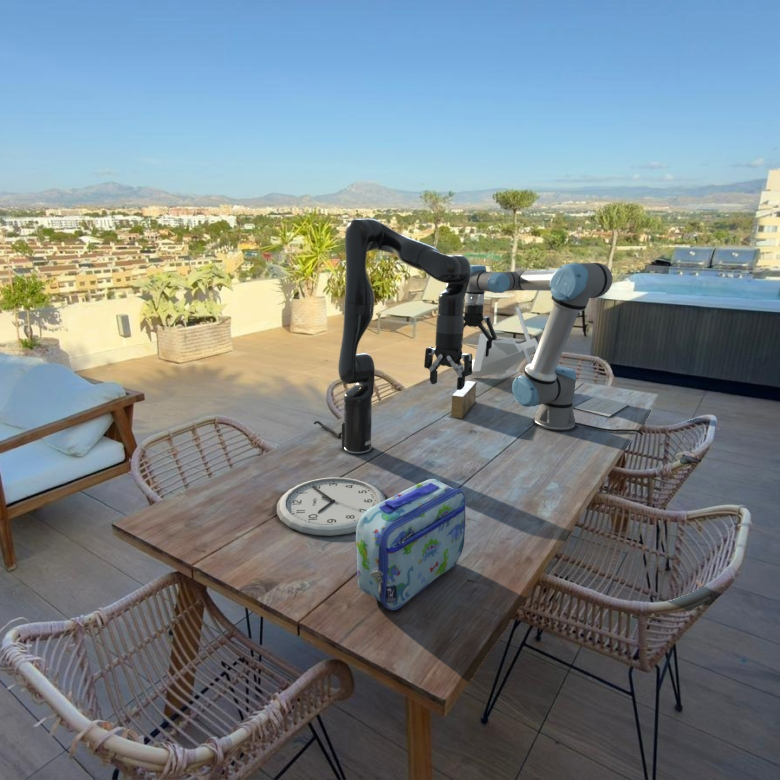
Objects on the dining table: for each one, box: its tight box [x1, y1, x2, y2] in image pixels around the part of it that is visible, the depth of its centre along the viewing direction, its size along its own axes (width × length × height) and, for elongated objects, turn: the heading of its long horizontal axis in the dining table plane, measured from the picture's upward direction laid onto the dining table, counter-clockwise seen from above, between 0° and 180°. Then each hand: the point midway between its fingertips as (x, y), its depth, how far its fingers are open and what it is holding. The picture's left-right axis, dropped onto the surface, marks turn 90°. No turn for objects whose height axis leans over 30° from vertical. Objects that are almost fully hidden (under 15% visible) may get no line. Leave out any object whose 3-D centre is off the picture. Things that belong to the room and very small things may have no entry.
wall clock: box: [276, 476, 387, 537], centre depth 142 cm, size 30×2×30 cm
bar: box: [450, 380, 477, 419], centre depth 219 cm, size 23×4×9 cm, turn 158°
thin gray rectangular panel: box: [573, 396, 629, 418], centre depth 226 cm, size 21×1×15 cm
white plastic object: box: [469, 306, 539, 378], centre depth 259 cm, size 37×45×31 cm
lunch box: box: [355, 478, 466, 611], centre depth 110 cm, size 26×11×21 cm, turn 134°
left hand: (446, 386), depth 149 cm, fingers open, 8 cm apart
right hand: (471, 354), depth 220 cm, fingers open, 13 cm apart
